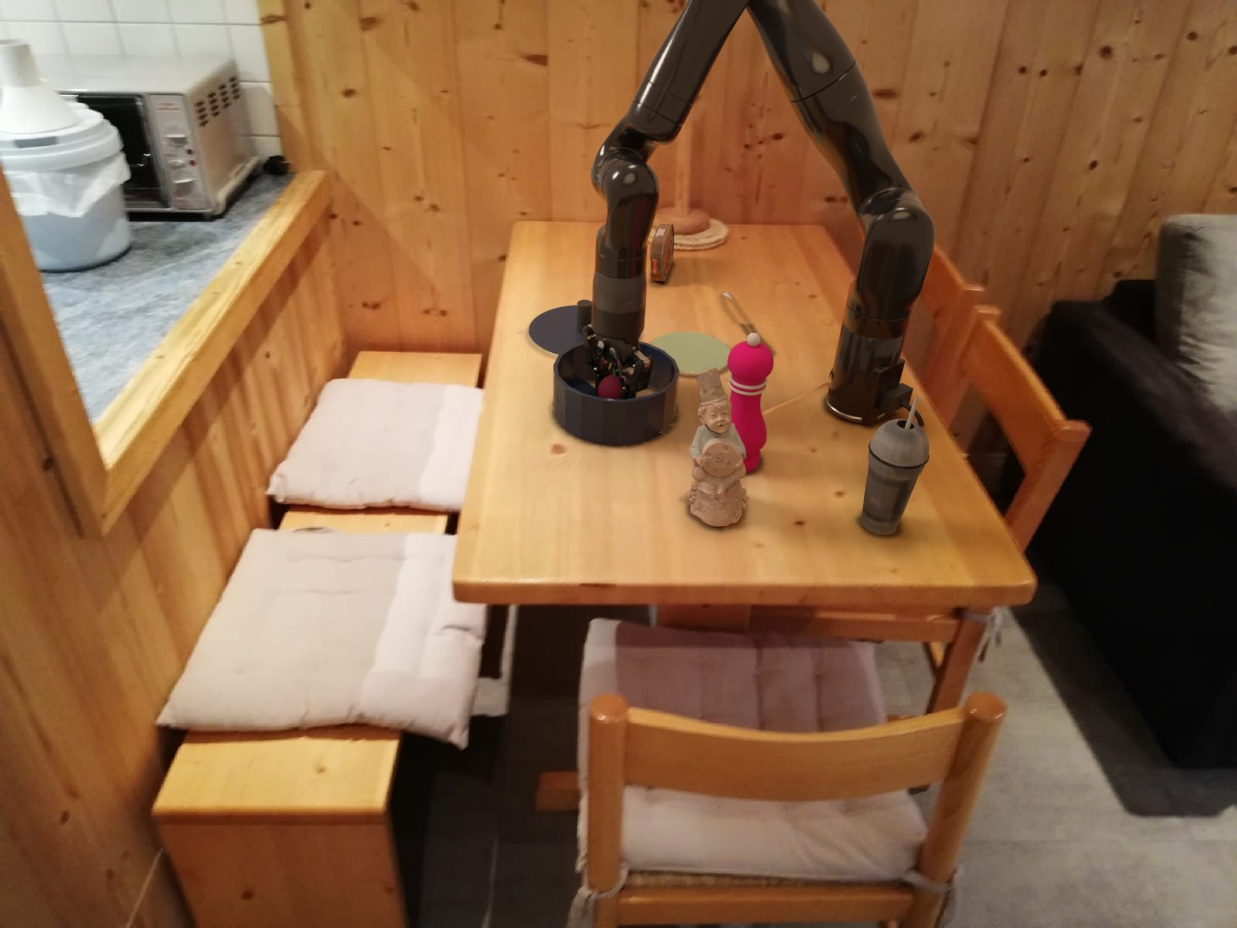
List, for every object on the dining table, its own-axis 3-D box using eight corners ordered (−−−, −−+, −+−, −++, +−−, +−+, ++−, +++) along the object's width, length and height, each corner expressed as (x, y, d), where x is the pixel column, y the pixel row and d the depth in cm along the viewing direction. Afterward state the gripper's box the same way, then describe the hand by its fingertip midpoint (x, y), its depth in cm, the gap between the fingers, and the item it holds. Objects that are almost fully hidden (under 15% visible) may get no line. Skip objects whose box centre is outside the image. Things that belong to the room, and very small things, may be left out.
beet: (638, 408, 136) (641, 366, 132) (611, 419, 134) (613, 376, 129) (617, 393, 140) (619, 351, 135) (590, 404, 137) (591, 361, 132)
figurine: (679, 488, 122) (691, 357, 110) (741, 487, 123) (759, 357, 111) (687, 530, 115) (702, 396, 103) (753, 529, 116) (775, 395, 104)
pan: (700, 418, 136) (705, 375, 132) (603, 460, 126) (605, 415, 122) (623, 368, 147) (625, 327, 143) (529, 404, 138) (528, 360, 133)
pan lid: (662, 341, 155) (664, 309, 152) (572, 373, 145) (573, 340, 142) (594, 300, 167) (595, 270, 164) (507, 328, 157) (506, 296, 154)
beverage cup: (899, 506, 121) (935, 376, 109) (915, 542, 115) (955, 409, 103) (844, 505, 120) (875, 375, 109) (858, 542, 114) (892, 408, 103)
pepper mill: (721, 478, 124) (738, 349, 112) (703, 449, 130) (718, 323, 118) (770, 471, 126) (792, 344, 114) (750, 442, 131) (769, 318, 120)
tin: (662, 289, 172) (665, 247, 167) (646, 287, 173) (648, 245, 168) (674, 258, 184) (677, 218, 179) (659, 256, 185) (661, 216, 180)
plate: (749, 360, 151) (750, 356, 151) (687, 386, 144) (687, 381, 143) (692, 328, 160) (692, 324, 159) (631, 350, 152) (631, 346, 152)
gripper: (673, 311, 124) (664, 415, 134) (608, 274, 132) (604, 374, 142) (631, 325, 120) (625, 432, 130) (566, 286, 129) (566, 389, 139)
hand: (614, 401), depth 136 cm, fingers closed on beet, 5 cm apart
